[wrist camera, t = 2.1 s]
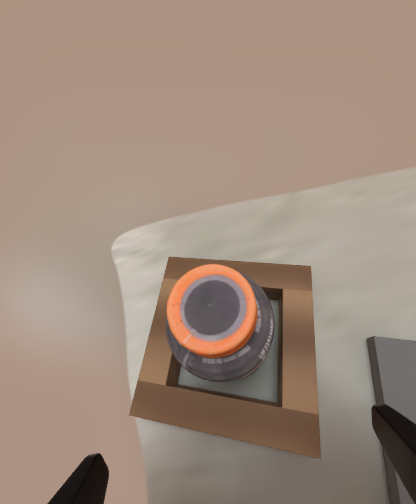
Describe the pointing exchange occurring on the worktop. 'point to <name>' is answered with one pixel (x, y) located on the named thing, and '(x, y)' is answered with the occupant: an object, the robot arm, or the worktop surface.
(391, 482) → the rubber mat
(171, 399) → the bottle holder
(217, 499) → the worktop surface
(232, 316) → the pill bottle
